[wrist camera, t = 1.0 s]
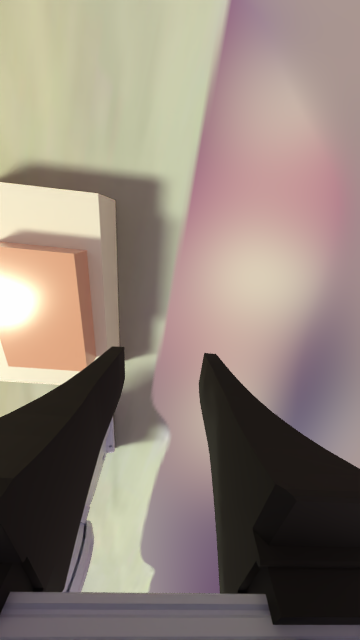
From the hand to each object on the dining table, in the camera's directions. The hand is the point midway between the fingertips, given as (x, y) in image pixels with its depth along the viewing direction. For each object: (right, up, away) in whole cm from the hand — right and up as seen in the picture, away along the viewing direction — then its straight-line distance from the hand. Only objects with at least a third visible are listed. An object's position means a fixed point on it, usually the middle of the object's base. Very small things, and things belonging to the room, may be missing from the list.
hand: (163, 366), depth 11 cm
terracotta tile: (-9, +3, +5) cm, 11 cm away
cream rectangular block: (-10, +5, +9) cm, 14 cm away
